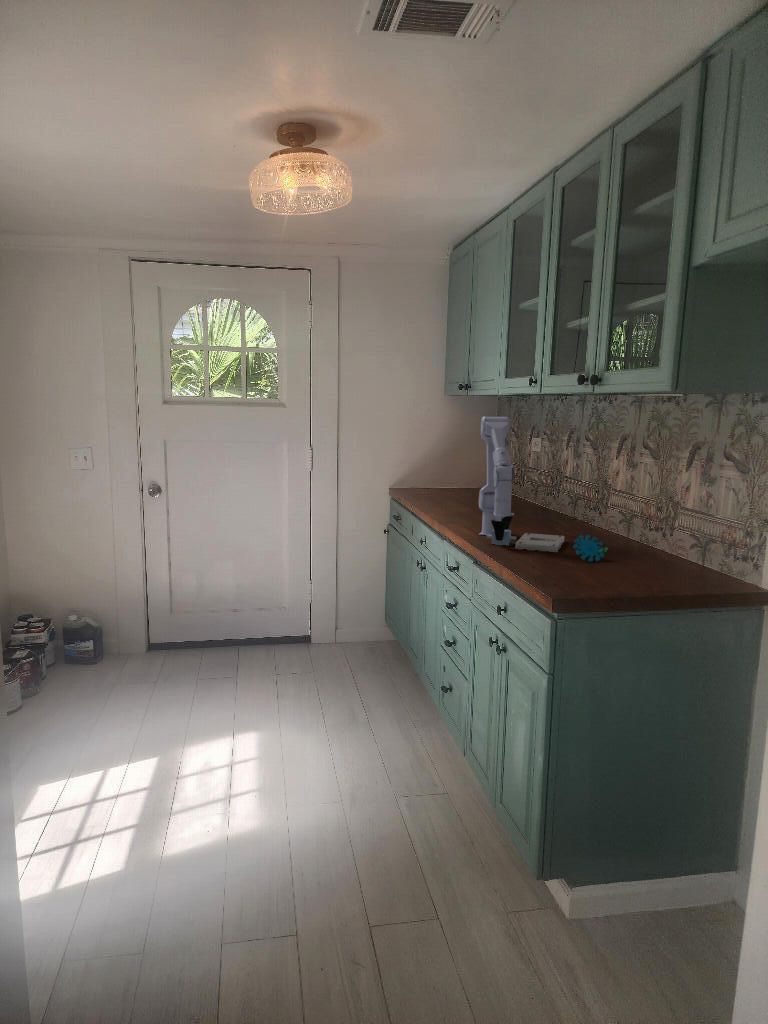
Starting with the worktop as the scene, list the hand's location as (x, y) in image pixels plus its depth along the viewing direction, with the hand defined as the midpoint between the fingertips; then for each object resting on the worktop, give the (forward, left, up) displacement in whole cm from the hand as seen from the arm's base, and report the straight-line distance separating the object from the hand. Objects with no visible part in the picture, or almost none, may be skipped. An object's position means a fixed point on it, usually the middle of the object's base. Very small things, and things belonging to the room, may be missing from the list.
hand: (501, 538), depth 238 cm
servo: (0, 0, -2) cm, 2 cm away
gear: (+13, +31, -2) cm, 34 cm away
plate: (-4, +13, -2) cm, 14 cm away
